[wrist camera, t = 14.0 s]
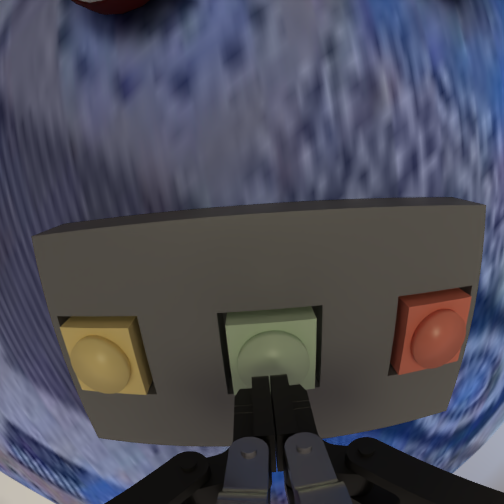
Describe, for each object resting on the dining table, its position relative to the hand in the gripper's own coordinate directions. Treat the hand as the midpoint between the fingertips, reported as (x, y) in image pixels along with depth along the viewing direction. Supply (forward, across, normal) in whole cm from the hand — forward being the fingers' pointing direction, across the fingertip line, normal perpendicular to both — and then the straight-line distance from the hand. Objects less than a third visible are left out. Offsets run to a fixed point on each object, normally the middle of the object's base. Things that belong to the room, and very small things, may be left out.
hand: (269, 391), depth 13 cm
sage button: (+5, 0, 0) cm, 5 cm away
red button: (+5, -9, 0) cm, 11 cm away
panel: (+6, 0, 0) cm, 6 cm away
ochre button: (+5, +9, 0) cm, 10 cm away
